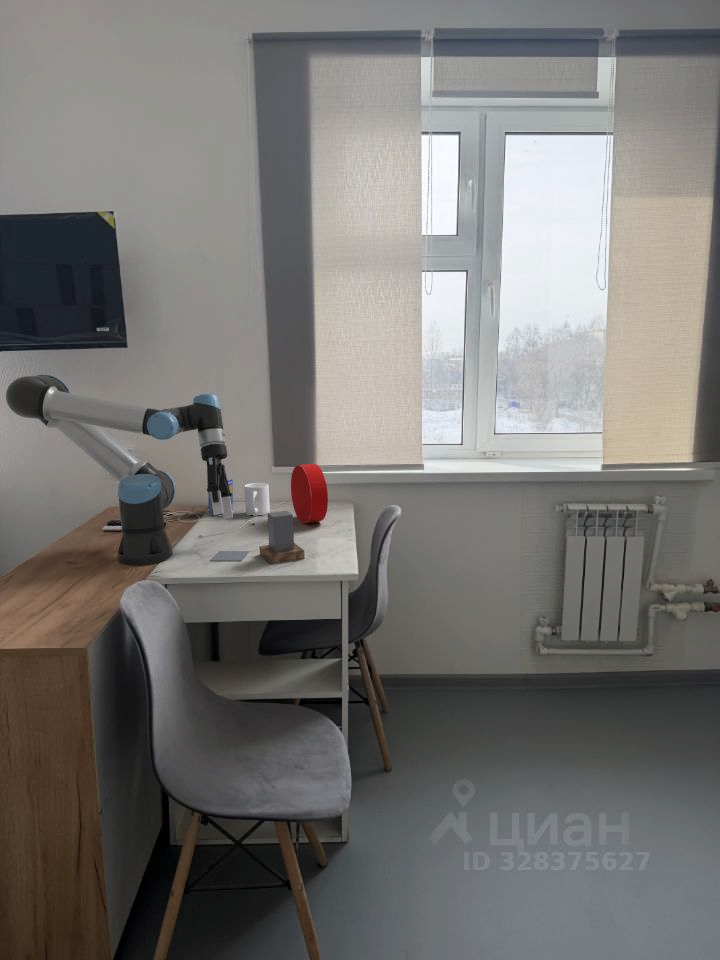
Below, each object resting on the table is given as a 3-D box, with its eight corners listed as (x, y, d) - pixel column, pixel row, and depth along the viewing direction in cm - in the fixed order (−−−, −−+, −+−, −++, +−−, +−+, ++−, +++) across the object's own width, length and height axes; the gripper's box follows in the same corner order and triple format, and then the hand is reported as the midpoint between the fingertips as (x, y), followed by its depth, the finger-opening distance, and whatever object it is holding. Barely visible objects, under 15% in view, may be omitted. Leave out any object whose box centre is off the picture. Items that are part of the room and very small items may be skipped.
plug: (275, 560, 185) (273, 517, 182) (269, 555, 190) (267, 512, 187) (294, 557, 187) (292, 514, 185) (288, 552, 192) (286, 510, 190)
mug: (241, 519, 236) (240, 489, 234) (248, 511, 247) (247, 482, 245) (265, 518, 235) (264, 489, 233) (271, 510, 247) (270, 482, 245)
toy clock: (328, 527, 222) (327, 467, 218) (312, 529, 219) (310, 469, 216) (307, 514, 240) (305, 459, 236) (291, 516, 237) (289, 461, 233)
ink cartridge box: (222, 516, 240) (219, 477, 237) (208, 515, 242) (205, 476, 239) (234, 510, 249) (232, 472, 247) (221, 509, 251) (219, 471, 248)
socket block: (270, 565, 182) (269, 555, 181) (259, 556, 191) (259, 546, 190) (304, 560, 186) (304, 550, 185) (292, 551, 195) (292, 541, 194)
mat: (210, 562, 186) (209, 560, 186) (219, 553, 195) (219, 550, 195) (241, 563, 185) (241, 560, 185) (249, 553, 194) (249, 550, 194)
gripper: (216, 435, 185) (227, 509, 182) (233, 451, 210) (244, 517, 207) (189, 439, 185) (200, 514, 182) (210, 455, 210) (220, 521, 207)
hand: (223, 516), depth 194 cm, fingers open, 13 cm apart
